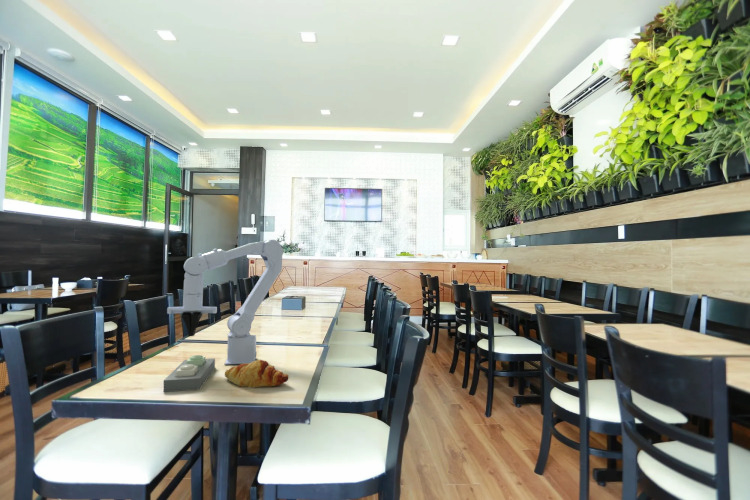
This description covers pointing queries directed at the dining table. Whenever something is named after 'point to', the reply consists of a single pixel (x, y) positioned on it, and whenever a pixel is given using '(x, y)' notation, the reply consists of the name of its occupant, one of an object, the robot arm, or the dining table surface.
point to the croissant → (256, 375)
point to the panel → (189, 377)
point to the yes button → (196, 360)
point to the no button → (187, 370)
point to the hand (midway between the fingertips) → (191, 335)
